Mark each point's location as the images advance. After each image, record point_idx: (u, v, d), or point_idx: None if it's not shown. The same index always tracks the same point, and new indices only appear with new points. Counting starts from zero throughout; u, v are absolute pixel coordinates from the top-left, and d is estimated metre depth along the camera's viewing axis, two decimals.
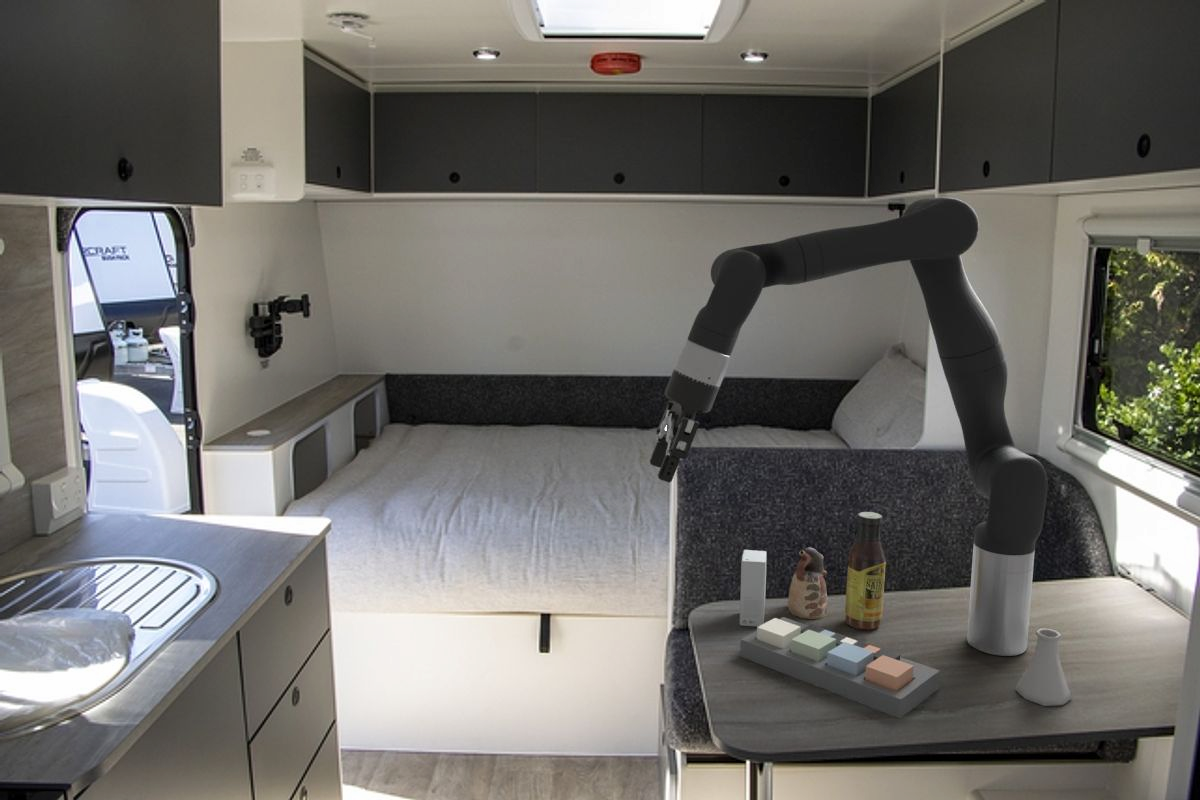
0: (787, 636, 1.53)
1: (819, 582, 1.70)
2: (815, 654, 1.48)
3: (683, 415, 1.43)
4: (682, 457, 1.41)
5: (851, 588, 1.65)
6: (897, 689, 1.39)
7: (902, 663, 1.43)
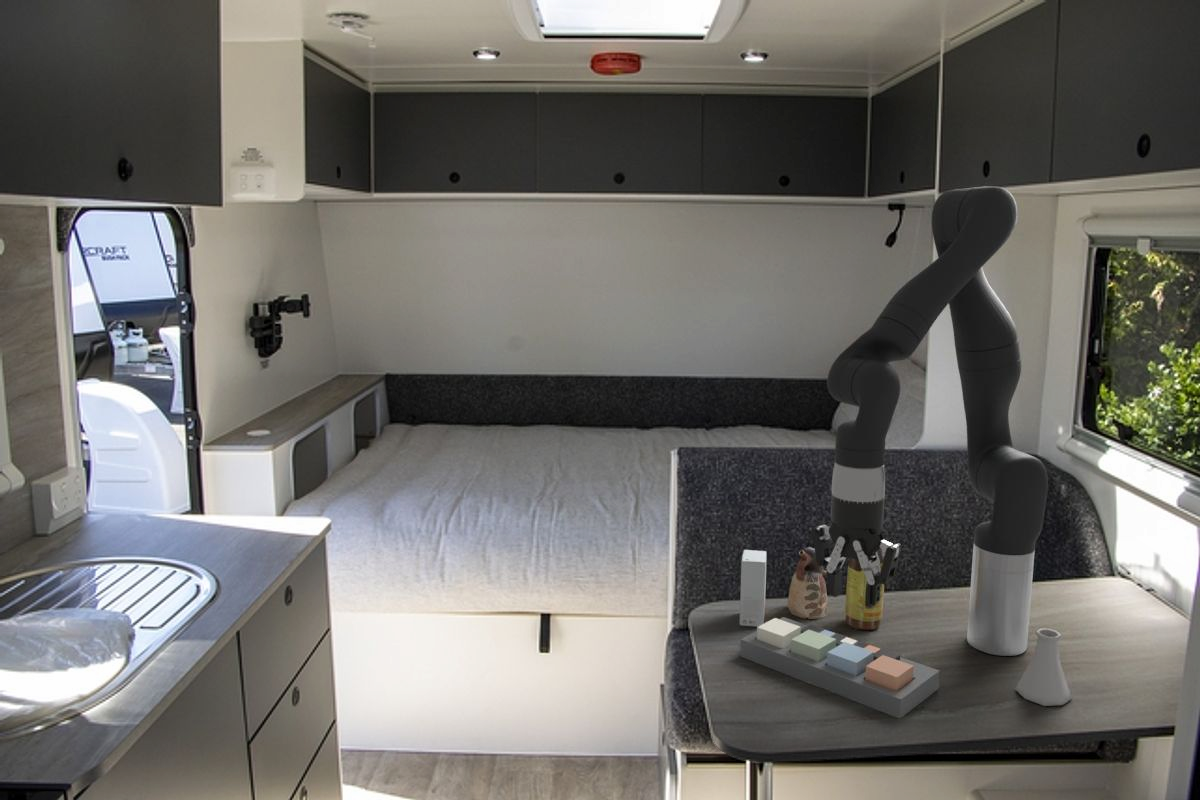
0: (787, 636, 1.53)
1: (819, 582, 1.70)
2: (815, 654, 1.48)
3: (877, 538, 1.39)
4: (891, 579, 1.40)
5: (851, 588, 1.65)
6: (897, 689, 1.39)
7: (902, 663, 1.43)
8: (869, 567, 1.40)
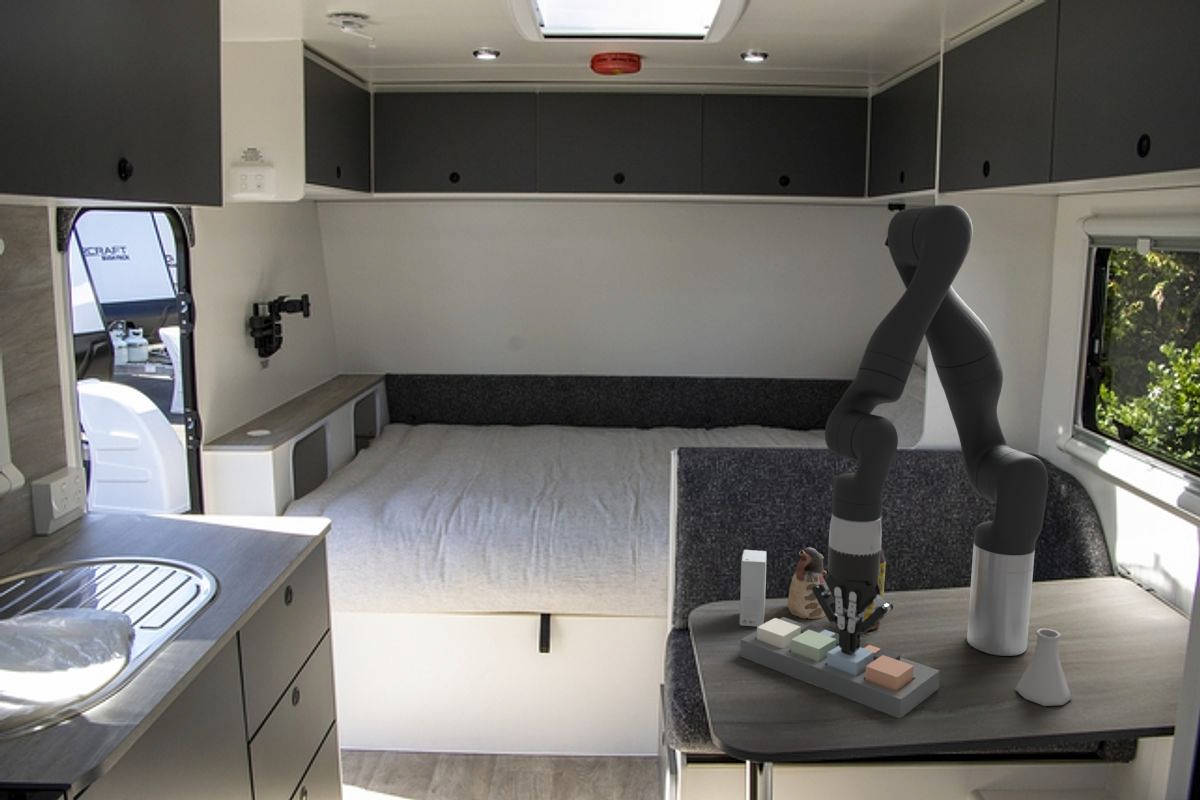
0: (787, 636, 1.53)
1: (819, 582, 1.70)
2: (815, 654, 1.48)
3: (873, 590, 1.41)
4: (871, 627, 1.44)
5: None
6: (897, 689, 1.39)
7: (902, 663, 1.43)
8: (855, 618, 1.43)
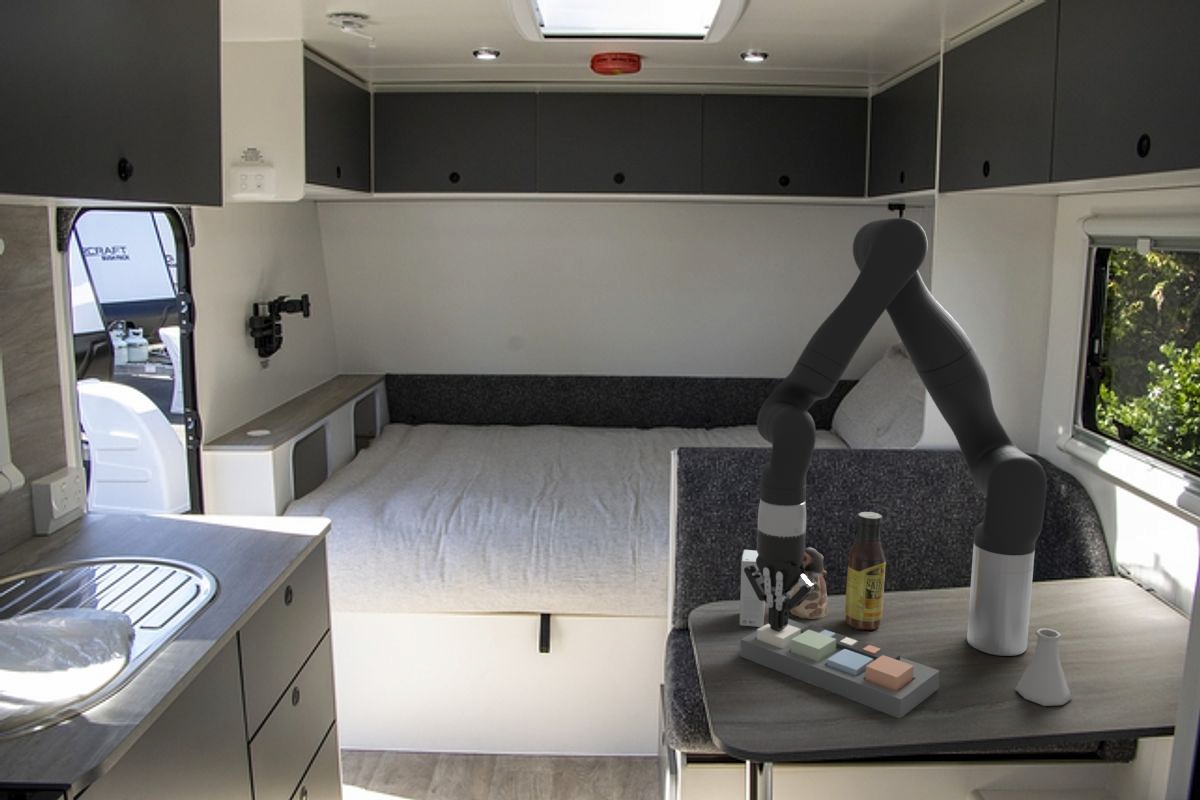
0: (786, 638, 1.53)
1: (819, 582, 1.70)
2: (815, 654, 1.48)
3: (798, 570, 1.50)
4: (797, 605, 1.53)
5: (851, 588, 1.65)
6: (897, 689, 1.39)
7: (902, 663, 1.43)
8: (782, 597, 1.52)
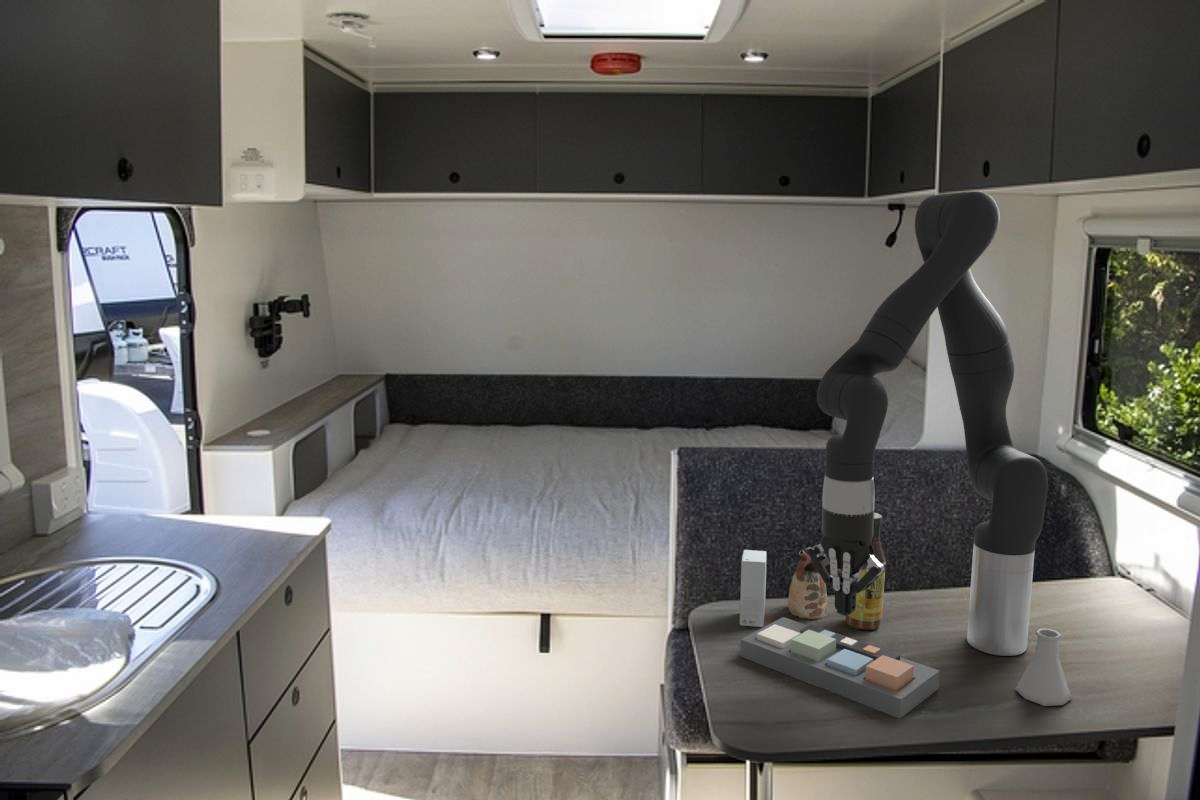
0: (786, 643, 1.53)
1: (819, 582, 1.70)
2: (815, 654, 1.48)
3: (867, 550, 1.41)
4: (866, 588, 1.44)
5: None
6: (897, 689, 1.39)
7: (902, 663, 1.43)
8: (849, 579, 1.43)
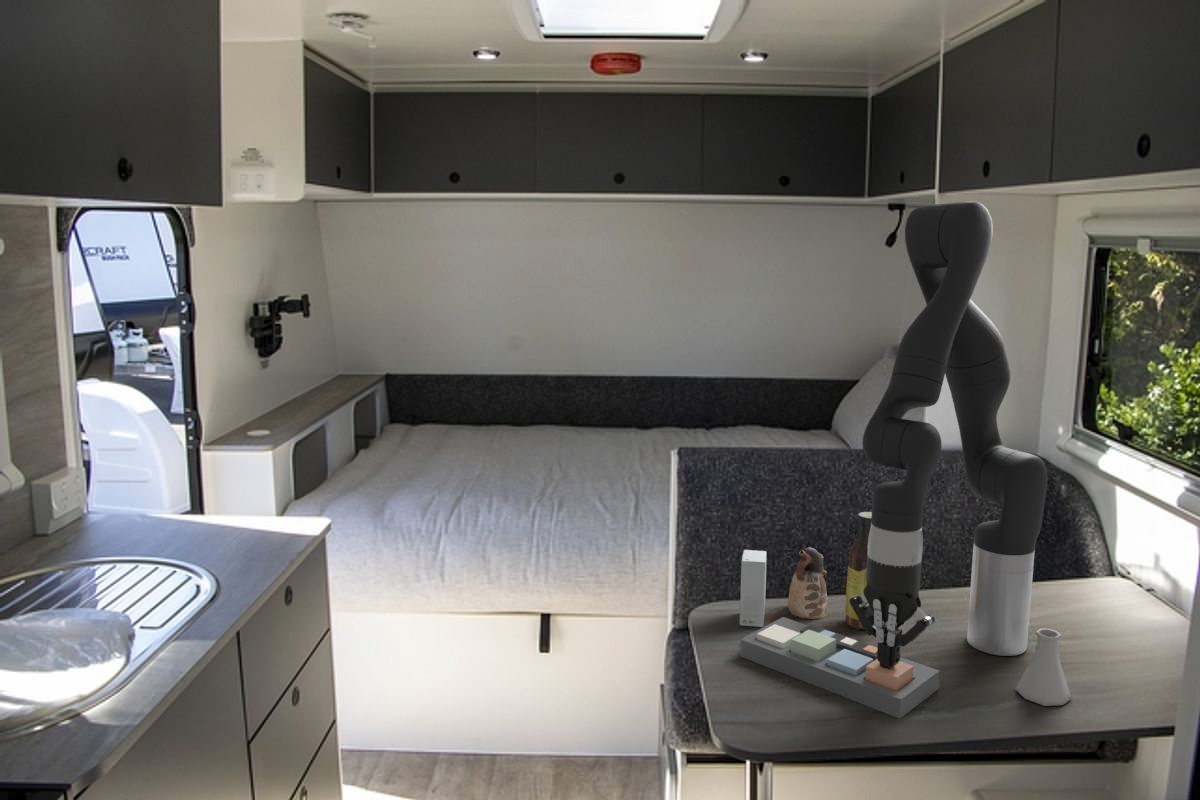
0: (786, 643, 1.53)
1: (819, 582, 1.70)
2: (815, 654, 1.48)
3: (914, 602, 1.36)
4: (911, 641, 1.39)
5: (851, 588, 1.65)
6: (897, 689, 1.39)
7: (902, 663, 1.43)
8: (895, 631, 1.39)
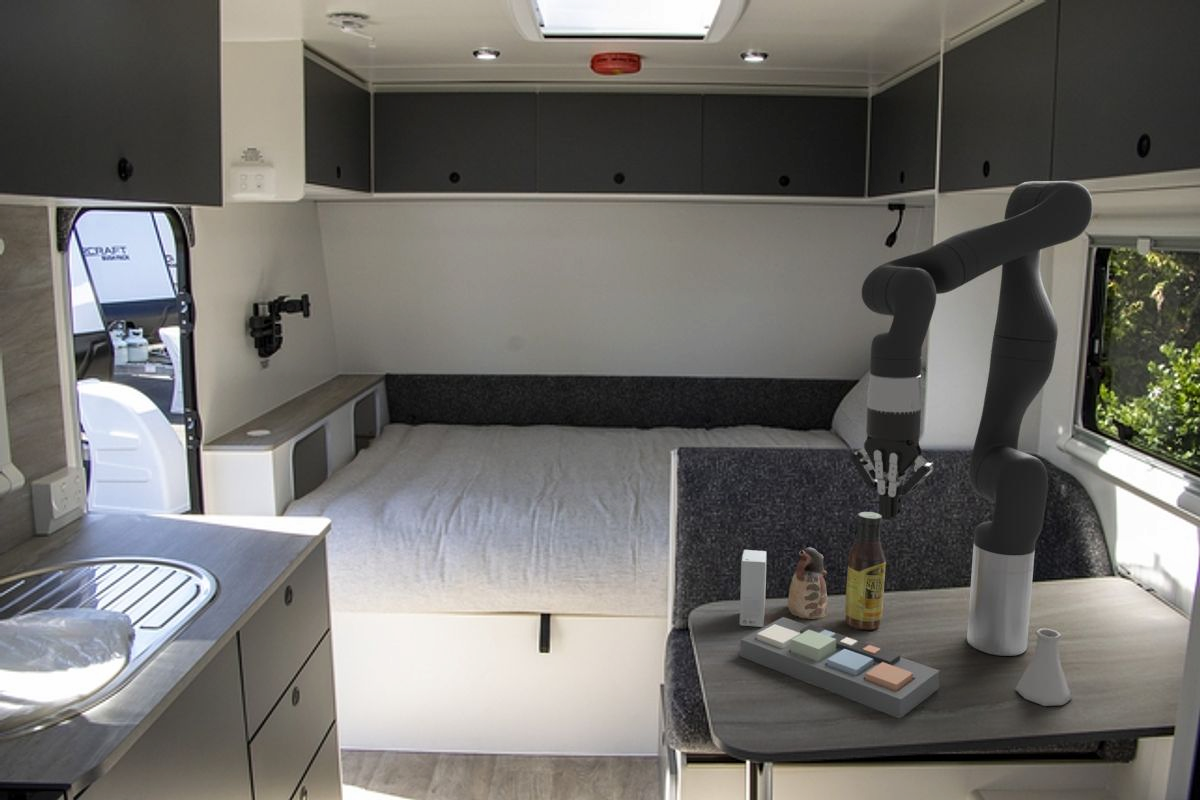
0: (786, 643, 1.53)
1: (819, 582, 1.70)
2: (815, 654, 1.48)
3: (915, 449, 1.38)
4: (912, 491, 1.40)
5: (851, 588, 1.65)
6: None
7: (902, 670, 1.43)
8: (896, 481, 1.40)
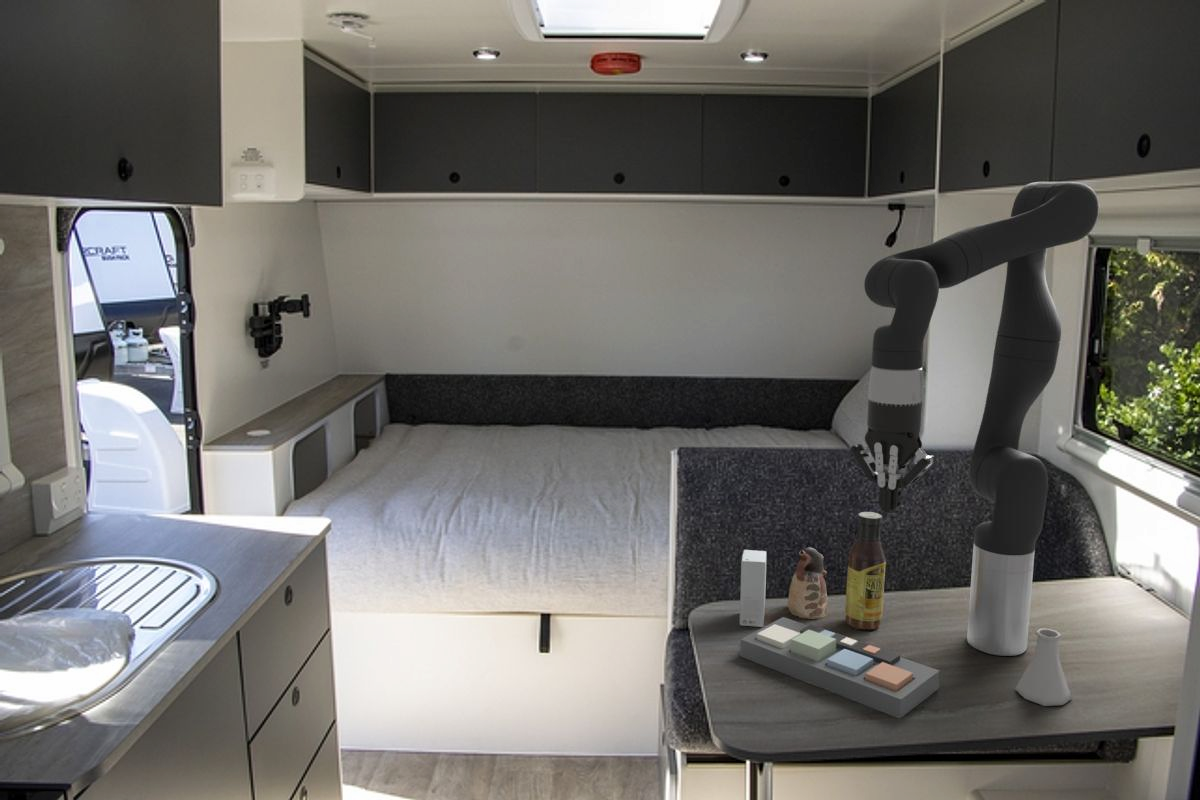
0: (786, 643, 1.53)
1: (819, 582, 1.70)
2: (815, 654, 1.48)
3: (915, 442, 1.38)
4: (912, 483, 1.41)
5: (851, 588, 1.65)
6: None
7: (902, 670, 1.43)
8: (896, 473, 1.40)
